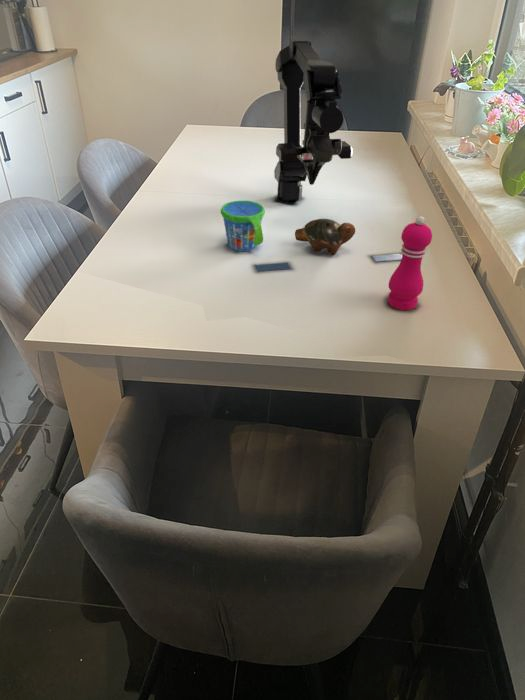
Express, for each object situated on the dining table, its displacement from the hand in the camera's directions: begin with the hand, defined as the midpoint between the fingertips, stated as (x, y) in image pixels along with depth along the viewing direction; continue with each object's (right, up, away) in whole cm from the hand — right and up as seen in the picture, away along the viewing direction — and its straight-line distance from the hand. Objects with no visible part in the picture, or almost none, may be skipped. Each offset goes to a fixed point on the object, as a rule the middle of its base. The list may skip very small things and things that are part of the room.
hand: (311, 184), depth 142 cm
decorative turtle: (+3, -18, -3) cm, 18 cm away
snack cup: (-18, -17, -3) cm, 25 cm away
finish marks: (+4, -22, -9) cm, 24 cm away
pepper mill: (+18, -33, -23) cm, 44 cm away
